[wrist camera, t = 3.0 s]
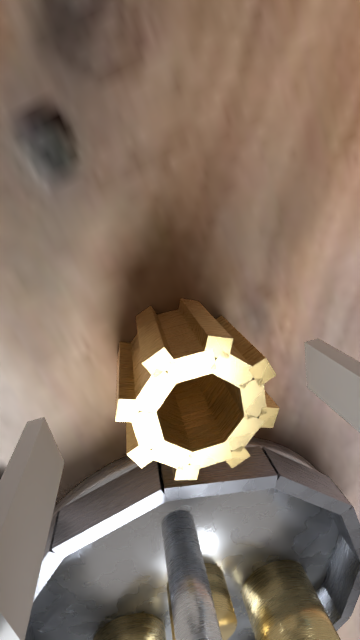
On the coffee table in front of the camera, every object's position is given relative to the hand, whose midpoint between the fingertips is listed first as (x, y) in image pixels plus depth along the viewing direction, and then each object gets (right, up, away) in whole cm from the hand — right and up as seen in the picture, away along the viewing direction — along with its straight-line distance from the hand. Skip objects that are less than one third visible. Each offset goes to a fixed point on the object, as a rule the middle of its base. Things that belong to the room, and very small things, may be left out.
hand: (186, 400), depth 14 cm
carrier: (+1, -17, +11) cm, 20 cm away
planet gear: (0, +2, +4) cm, 4 cm away
